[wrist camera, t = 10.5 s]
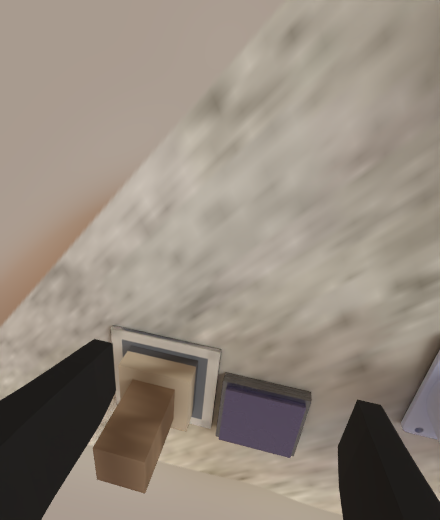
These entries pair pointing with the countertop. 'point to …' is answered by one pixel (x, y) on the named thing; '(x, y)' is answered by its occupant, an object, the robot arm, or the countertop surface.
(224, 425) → the ink pad
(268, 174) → the countertop surface
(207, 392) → the print mark
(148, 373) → the stamp
